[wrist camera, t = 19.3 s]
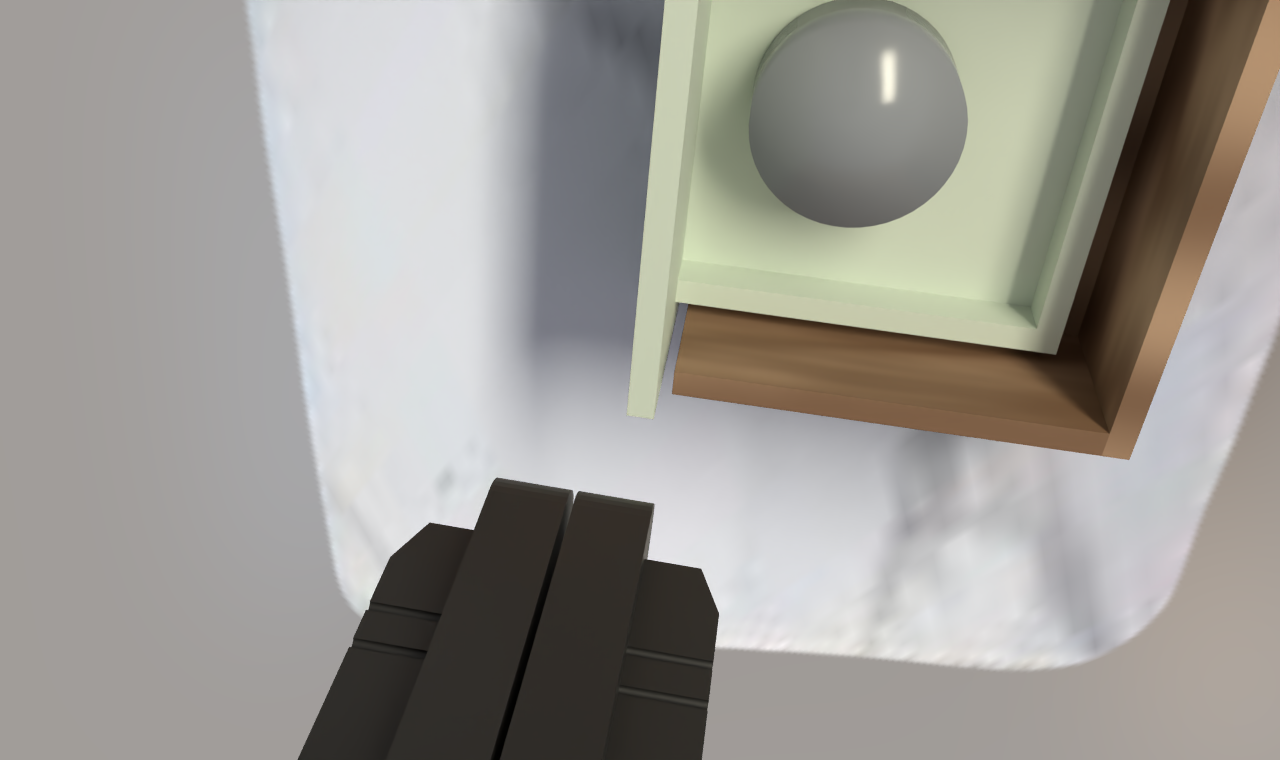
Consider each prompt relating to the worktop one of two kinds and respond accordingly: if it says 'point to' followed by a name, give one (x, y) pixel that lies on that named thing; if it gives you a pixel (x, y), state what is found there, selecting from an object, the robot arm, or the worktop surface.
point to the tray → (922, 240)
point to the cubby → (1104, 301)
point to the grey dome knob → (857, 113)
